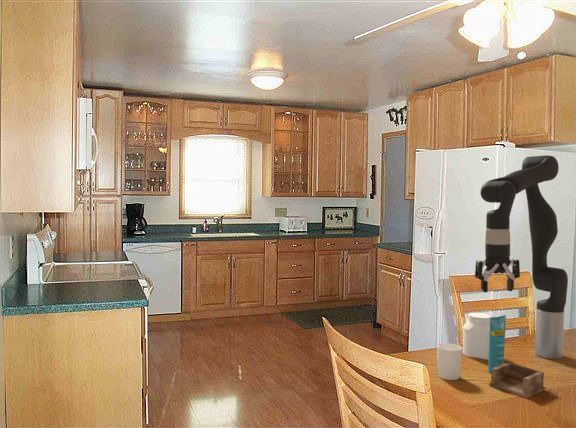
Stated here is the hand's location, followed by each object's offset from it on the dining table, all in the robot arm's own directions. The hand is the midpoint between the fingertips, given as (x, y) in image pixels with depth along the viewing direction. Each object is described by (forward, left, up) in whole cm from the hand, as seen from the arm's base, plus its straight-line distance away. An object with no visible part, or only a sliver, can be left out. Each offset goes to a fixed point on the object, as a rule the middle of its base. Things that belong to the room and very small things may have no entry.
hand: (497, 291), depth 168 cm
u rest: (+3, +9, -29) cm, 30 cm away
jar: (-17, -16, -29) cm, 37 cm away
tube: (-5, -2, -29) cm, 29 cm away
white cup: (+12, -9, -29) cm, 33 cm away
